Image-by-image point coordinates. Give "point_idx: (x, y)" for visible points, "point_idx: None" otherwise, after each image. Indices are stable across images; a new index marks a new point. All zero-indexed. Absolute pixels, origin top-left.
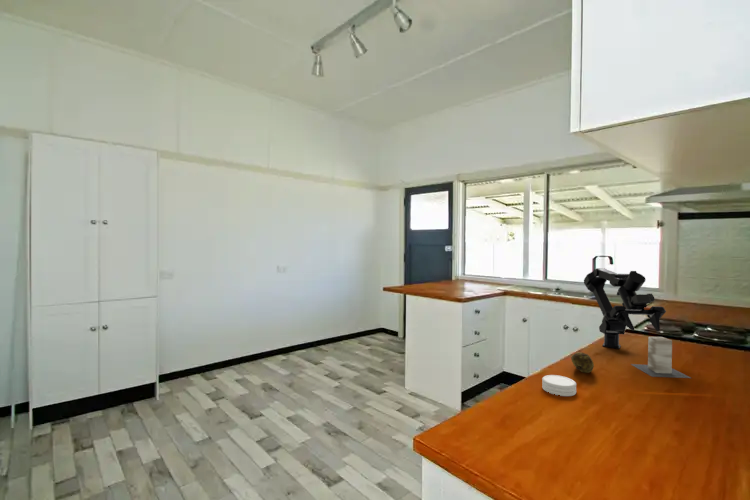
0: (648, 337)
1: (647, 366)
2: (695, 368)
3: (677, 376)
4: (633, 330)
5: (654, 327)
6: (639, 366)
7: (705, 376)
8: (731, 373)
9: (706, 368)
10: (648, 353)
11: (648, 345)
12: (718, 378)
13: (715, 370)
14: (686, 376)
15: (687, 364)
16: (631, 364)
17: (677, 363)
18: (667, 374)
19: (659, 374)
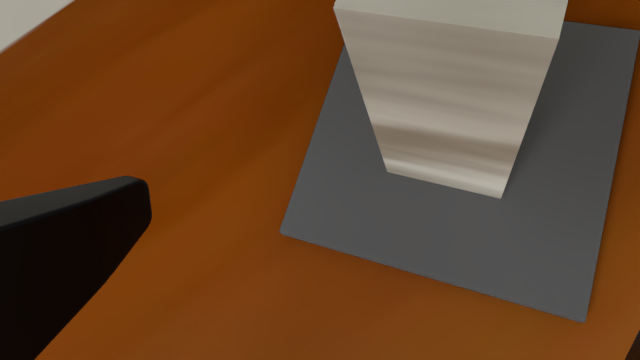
0: (555, 46)
1: (468, 233)
2: (117, 176)
3: None
4: (635, 354)
5: (73, 311)
6: (546, 245)
7: (217, 47)
8: (24, 78)
9: (53, 167)
10: (518, 145)
11: (533, 106)
12: (181, 16)
13: (46, 129)
14: None
15: None
16: (581, 309)
17: (118, 290)
18: None
19: None
